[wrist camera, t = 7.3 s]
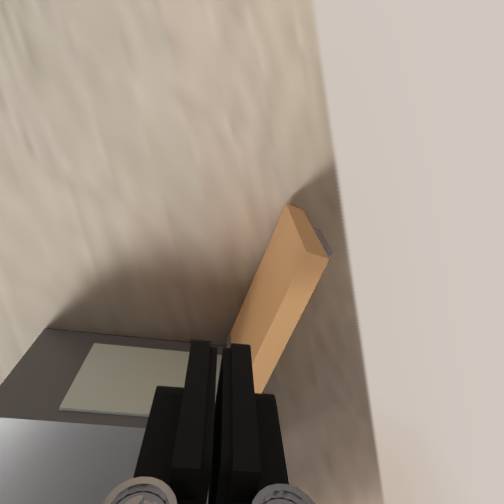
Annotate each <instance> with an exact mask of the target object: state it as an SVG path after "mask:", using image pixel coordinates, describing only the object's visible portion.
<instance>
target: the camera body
mask: <svg viewBox="0 0 504 504" xmlns="http://www.w3.org/2000/svg"><path fill="white" fill-rule="evenodd" d="M190 346H191V343H188V342H178V341H167V340H157V339H147V338H136V337H126V336H116V335H105V334H95V333H85V332H75V331H64V330H54V329H44V330H43V332H42V333H41V334H40V335H39V337H38V338H37V339H36V341H35V342H34V343H33V344H32V346H31V347H30V348H29V350H28V351H27V352H26V353H25V355H24V356H23V357H22V359H21V360H20V361H19V362H18V364H17V365H16V366H15V367H14V369H13V370H12V371H11V373H10V374H9V375H8V376H7V378H6V379H5V380H4V382H3V383H2V384H1V385H0V504H103V502H104V500H105V499H106V497H107V496H108V494H109V493H110V492H111V491H112V490H113V489H115V488H116V487H117V486H118V485H119V484H121V483H123V482H125V481H127V480H129V479H132V478H133V476H134V472H135V468H136V465H137V461H138V457H139V453H140V449H141V445H142V441H143V437H144V433H145V429H146V425H147V421H148V417H149V414H150V410H151V406H152V402H153V398H154V394H155V390H156V387H157V386H170V387H183V388H184V384H185V378H186V372H187V365H188V359H189V352H190ZM210 346H213V347H217V369H216V391H215V400H216V393H217V387H218V380H219V373H220V366H221V359H222V352H223V347H224V348H227V346H219V345H210ZM206 504H208V497H207V503H206Z"/></svg>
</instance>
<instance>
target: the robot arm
mask: <svg viewBox="0 0 504 504" xmlns="http://www.w3.org/2000/svg"><path fill="white" fill-rule="evenodd" d="M210 342H211V341H204V340H193V339H192V340H191V346H190V352H189V359H188V365H187V372H186V378H185V384H184V388H183V387H170V386H157V387H156V390H155V394H154V398H153V402H152V406H151V410H150V414H149V417H148V421H147V425H146V429H145V433H144V437H143V441H142V445H141V449H140V453H139V457H138V461H137V465H136V468H135V472H134V476H133V478H132V479H129V480H127V481H125V482H123V483H121V484H119V485H118V486H117V487H116V488H115V489H113V490H112V491H111V492H110V493H109V494H108V496H107V497H106V499H105V500H104V502H103V504H206V503H207V497H208V504H315V503H314V502H313V501H312V500H311V499H310V497H309V496H308V495H307V494H306V493H304V492H303V491H301V490H300V489H298V488H296V487H294V486H291V485H289V482H288V476H287V469H286V463H285V456H284V450H283V444H282V437H281V431H280V424H279V418H278V412H277V405H276V400H275V396H274V395H273V394H260V393H255V391H254V380H253V368H252V357H251V347H250V345H248V344H237V343H231V346H230V348H224V347H223V352H222V359H221V366H220V373H219V380H218V387H217V393H216V400H215V391H216V369H217V347H213V346H210Z"/></svg>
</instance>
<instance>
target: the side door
mask: <svg viewBox="0 0 504 504" xmlns="http://www.w3.org/2000/svg"><path fill="white" fill-rule="evenodd" d="M331 252H332V251H331V249H330V247H329V245H328V244H327V242H326V240H325V238H324V237H323V235H322V233H321V231H320V230H319V229H317V228H314V227H312V226H311V224H310V222H309V220H308V218H307V216H306V214H305V213H304V211H303V209H300V208H297V207H294V206H292V205H289V204H285V207H284V209H283V211H282V214H281V216H280V218H279V221H278V223H277V225H276V228H275V230H274V232H273V235H272V237H271V239H270V242H269V244H268V246H267V249H266V251H265V253H264V256H263V258H262V260H261V263H260V265H259V267H258V270H257V272H256V274H255V276H254V279H253V281H252V283H251V286H250V288H249V290H248V293H247V295H246V297H245V300H244V302H243V304H242V307H241V309H240V311H239V314H238V316H237V318H236V321H235V323H234V325H233V328H232V330H231V331H230V332H229V333H228V335H227V348H230V346H231V343H237V344H248V345H250V347H251V357H252V368H253V380H254V391H255V393H260V394H262V392H263V390H264V388H265V386H266V384H267V382H268V380H269V378H270V376H271V374H272V372H273V370H274V368H275V366H276V364H277V362H278V360H279V358H280V356H281V354H282V352H283V350H284V348H285V346H286V344H287V342H288V340H289V338H290V336H291V334H292V333H293V331H294V329H295V327H296V325H297V323H298V321H299V319H300V317H301V315H302V313H303V311H304V309H305V307H306V305H307V303H308V301H309V299H310V297H311V295H312V293H313V291H314V289H315V287H316V285H317V283H318V281H319V279H320V277H321V275H322V273H323V271H324V269H325V268H326V266H327V264H328V262H329V260H330V259H329V256H330V254H331Z"/></svg>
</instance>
